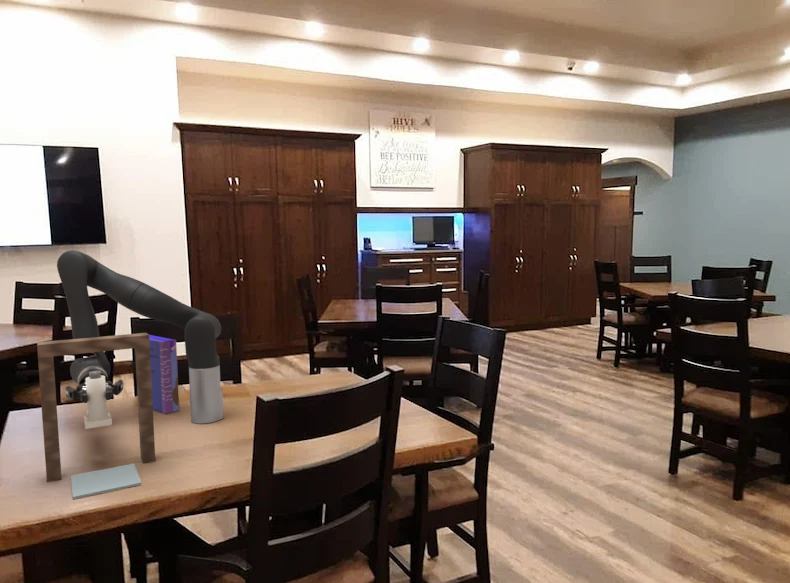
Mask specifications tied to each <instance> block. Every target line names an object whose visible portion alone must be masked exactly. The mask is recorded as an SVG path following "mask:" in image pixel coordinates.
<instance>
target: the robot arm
mask: <svg viewBox="0 0 790 583" xmlns="http://www.w3.org/2000/svg"><path fill="white" fill-rule="evenodd" d="M56 269H57V272H58V276H59V279H60V281H61V285H62V288H63V292H64V295H65V298H66V302H67V307H68V312H69V318H70V324H71V333H72V339H81V338H92V337H100V331H99V330H100V329H99V325H98V324H99V323H98V319H97V316H96V313H95V310H94V308H93V305H92V302H91V300H90V295H89V291H88V290H89V289H88V287H89V288H92V289H94V290H97V291H99V292H101V293H104V294H105V295H107V296H109V298H111V299H112V300H113V301H115V302H116V303H118V304H119V305H121V306H123V307H124V308H126V309H128V310H130V311H131V312H134V313H136V314H138V315H140V316H143V317H146V318H148V319H152V320H155V321H159V322H164V323H169V324H171V325H174V326H175V327H176V326H177V327H178V328H180V329H183V330H184V347H185V356H186V357H185V358H186V359H187V361H188V377H189V378H188V380H189V381H188V382H189V383H188V384H189V403H190V405H189V406H190V407H189V408H190V409H189V410H190V422H192V423H194V424H209V423H210V424H211V423H214V422H218V421H221V420H224V400H223V389H222V388H221V369H220V368H221V367H220V362H221V361H220V355H218V354H217V353H218V352H217V342H216V339H217V338H218V337H219V336H220V335H221V332H222V325H221V323H220V320H219V319H218V318H217V317H216V316H215V315H213V314H211V313H209V312H205V311H202V310H200V309H197V308H194V307H192V306H189V305H187V304H184V303H183V302H181V301H179V300H178V299H176V298H174V297H172V296H170V295H168V294H167V293H164V292H163V291H161V290H158V289H157V288H155V287H154V286H151V285H150V284H148V283H145V282H143V281H140V280H138V279H136V278H134V277H130V276H128V275H124V274H121V273H118V272H116V271H114V270H113V269H110V268H109V267H107V266H105V265H104V264H102V263H101V262H99V261H98V260H96V259H94V258H93V257H92V256H90V255H88V254H86V253H84V252H82V251H79V250H66V251H64V252H62V254H61V255H60V256H59V257H58V259H57V262H56ZM92 354H94V355H95V356H92V357H85V358H79V359H78V358H77V359H75V361H72V363H70V364H71V365H70V367H69V368H70V369H69V372H70V377H71V378H72V380H73V381H74V382H75V383H76V384H77V386H76V387H74V386H68V385H67V386H66V387H65V397H66V398H68V399H70V400H71V401H75V402H76V401H78V400H79V399H80V402H83V403H84V404H87V392H86V378H87V377H89V372H91V371H101V375H103V376H105V383H106V401H109V400H110V399H111V398H113V395H114V396H118V395H120V394H121V393H122V391H123V390H124V382H123V380H122V379H119V380H118V381H115V382H114V383H113V382H112V381H111V380H110V378H109V376H110V375H111V374H110V373H111V370H112V369H111V363H110V362H109V360H108V358H107V355H106V354H105V351H102V352H92Z"/></svg>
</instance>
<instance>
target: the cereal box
mask: <svg viewBox="0 0 790 583" xmlns="http://www.w3.org/2000/svg"><path fill="white" fill-rule="evenodd" d="M149 342H150V362H151V382H152V402H153V411H155V412H157V411H158V413H161V414H163V415H169V414H172V413H173V414H174V413H177V412H179V411H180V396H179V380H178V379H179V375H178V374H179V373H178V356H177V355H178V354H177V339H172V338H167V337H163V336H158V335H157V336H156V335H152V334H149Z"/></svg>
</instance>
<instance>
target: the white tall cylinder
mask: <svg viewBox="0 0 790 583" xmlns="http://www.w3.org/2000/svg"><path fill="white" fill-rule="evenodd" d="M86 392H87V403H86V407H87V409H86V410H87V415H84V416H83V423H84V429H85V430H87V429H94V428H95V429H96V428H101V427H107V426H113V420H112V415H111V412H108V407H107V406H108V405H107V401H108V400H107V399H106V383H105V376H103V375H101V371H91V372H89V377H87V378H86Z"/></svg>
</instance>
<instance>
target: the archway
mask: <svg viewBox="0 0 790 583" xmlns="http://www.w3.org/2000/svg"><path fill="white" fill-rule="evenodd" d="M149 335H150V334H148V332H139V333H130V334H129V333H128V334H118V335H106V336H99V337H92V338H81V339H73V338H72V339H71V338H70V339H58V340H49V341H38V342H37V345H36V346H37V360H38V362H37V363H38V375H39V389H40V390H39V392H40V403H41V404H40V405H41V406H40V407H41V419H42V432H43V445H44V448H43V449H44V458H45V461H44V462H45V463H44V464H45V472H46V473H45V474H46V483H50V482H55V481H59V480H60V481H61V480H62V465H61V464H62V463H61V450H60V449H61V448H60V435H59V422H58V419H59V418H58V406H57V393H56V376H55V362H54V361H55V360H54V357H57V356H58V357H60V356H61V357H62V356H71V355H80V354H89V353H90V354H91V353H92V354H93V352H102V351H104V352H109V351H121V350H129V349H134V352H135V353H134V354H135V355H134V356H135V357H134V358H135V373H136V377H135V378H136V391H137V393H136V395H137V409H138V410H137V411H138V413H137V414H138V432H139V433H138V435H139V450H140V451H139V452H140V461H141V462H142V464H147V463H151V461H152V462H155V461H156V448H155V446H156V445H155V424H154V410H153V402H152V382H151V362H150V342H149ZM146 462H147V463H146ZM49 481H50V482H49Z"/></svg>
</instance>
